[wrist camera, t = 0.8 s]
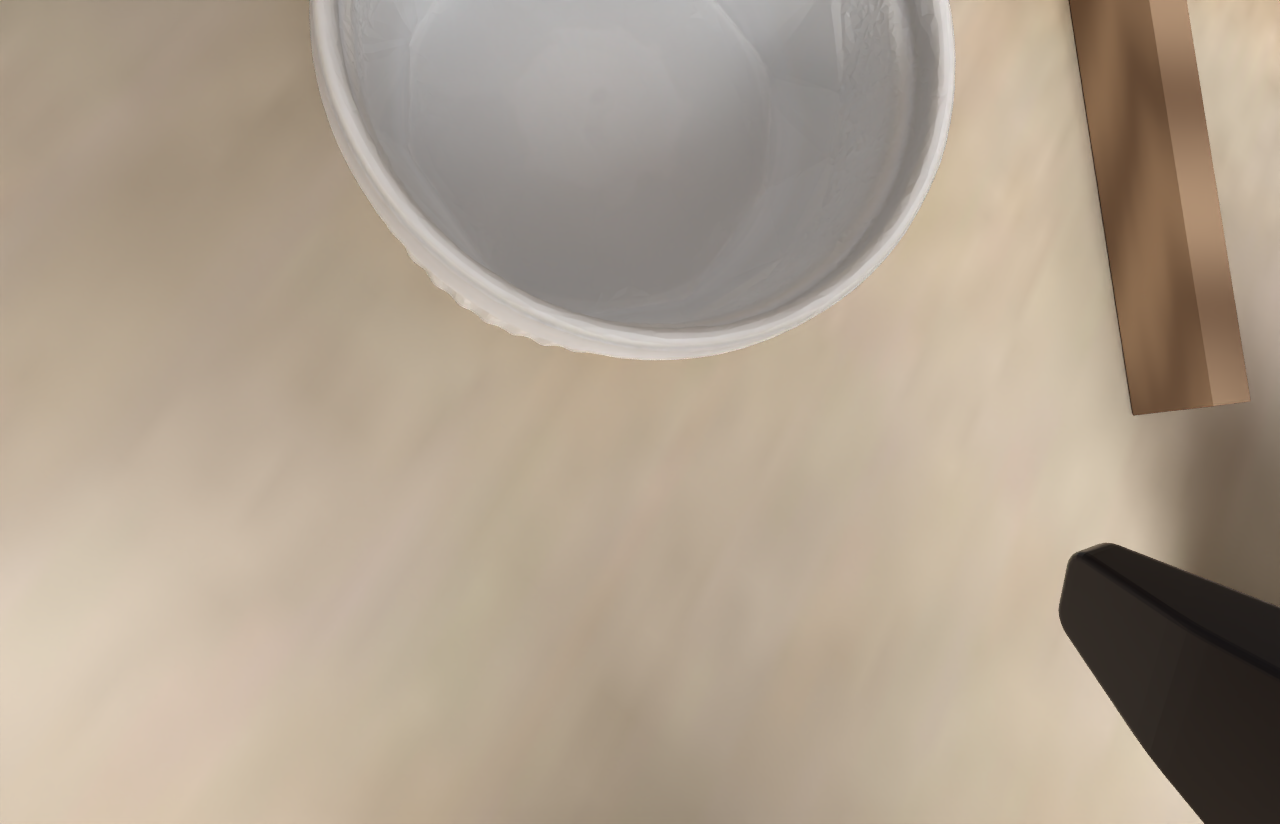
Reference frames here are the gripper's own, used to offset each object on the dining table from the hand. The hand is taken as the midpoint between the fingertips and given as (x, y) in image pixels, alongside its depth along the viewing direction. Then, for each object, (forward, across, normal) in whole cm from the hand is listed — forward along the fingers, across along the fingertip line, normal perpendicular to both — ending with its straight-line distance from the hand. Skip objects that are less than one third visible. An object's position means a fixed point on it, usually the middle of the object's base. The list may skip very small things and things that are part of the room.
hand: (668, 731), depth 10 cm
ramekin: (+20, -6, +2) cm, 20 cm away
